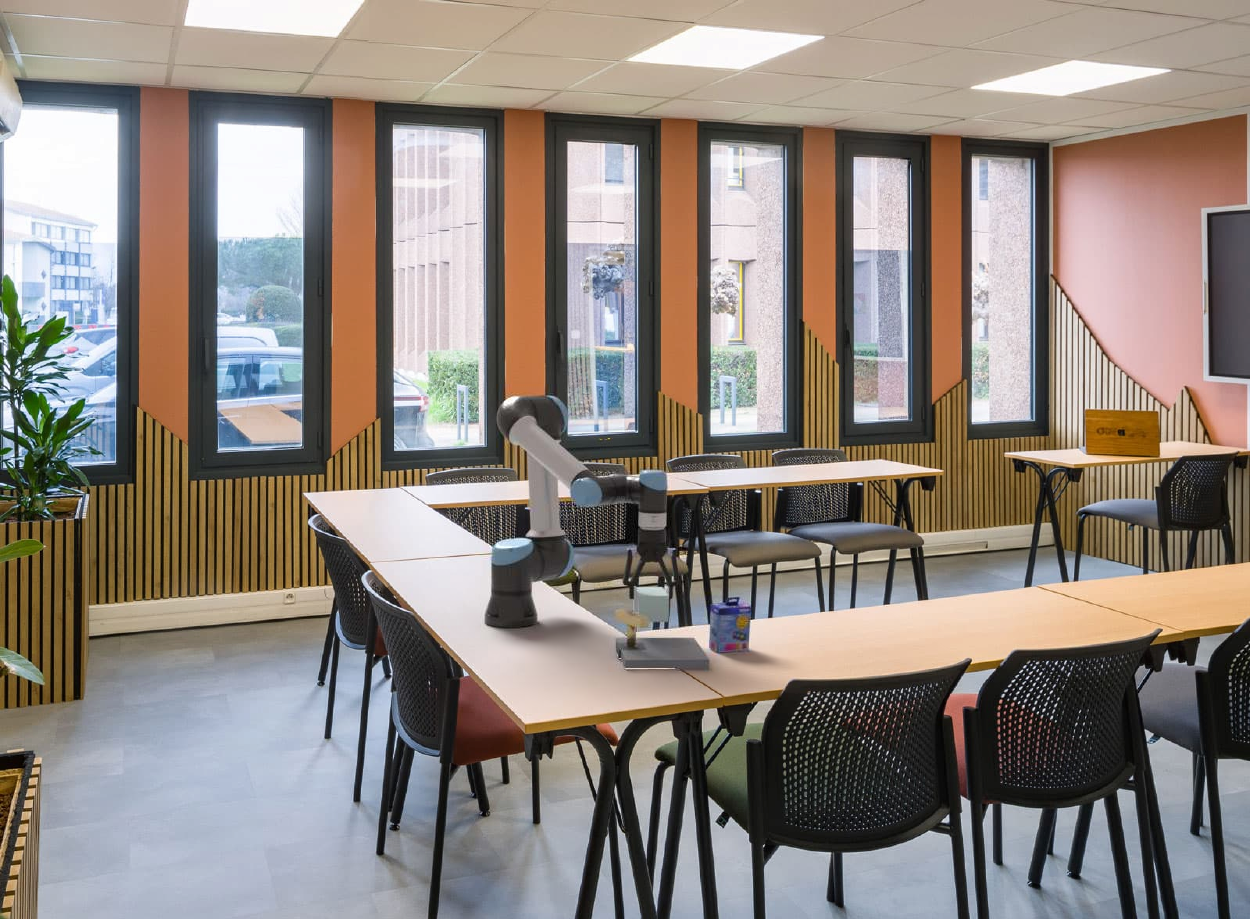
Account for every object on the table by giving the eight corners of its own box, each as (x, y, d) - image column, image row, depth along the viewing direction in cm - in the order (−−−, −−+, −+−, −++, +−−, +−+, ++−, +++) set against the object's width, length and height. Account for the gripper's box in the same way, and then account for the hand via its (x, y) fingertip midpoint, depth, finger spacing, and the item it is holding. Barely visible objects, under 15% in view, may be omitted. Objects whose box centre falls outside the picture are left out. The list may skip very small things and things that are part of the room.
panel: (613, 647, 309) (613, 637, 308) (693, 646, 311) (693, 637, 311) (623, 670, 287) (623, 659, 287) (709, 669, 289) (709, 659, 289)
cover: (633, 612, 321) (633, 587, 321) (661, 612, 322) (662, 587, 322) (638, 622, 310) (639, 596, 309) (668, 621, 311) (668, 596, 310)
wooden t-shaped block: (639, 650, 295) (640, 618, 294) (614, 640, 304) (615, 610, 303) (647, 648, 296) (648, 617, 295) (622, 639, 305) (623, 608, 304)
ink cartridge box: (717, 653, 305) (719, 599, 303) (707, 648, 310) (709, 594, 308) (750, 650, 309) (752, 596, 307) (740, 645, 314) (742, 592, 312)
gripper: (615, 529, 309) (613, 614, 311) (692, 529, 311) (690, 613, 313) (612, 525, 316) (610, 608, 318) (688, 525, 319) (686, 607, 321)
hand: (650, 610), depth 316 cm, fingers closed on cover, 8 cm apart
